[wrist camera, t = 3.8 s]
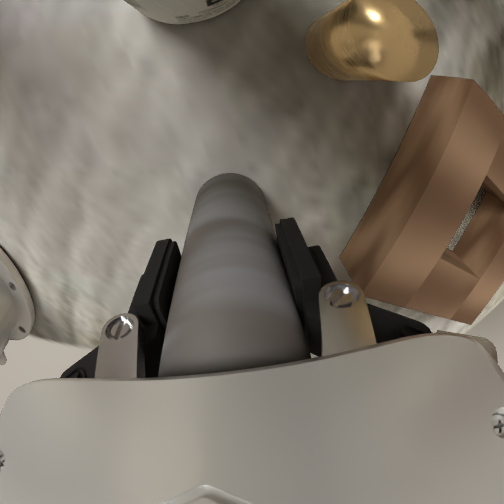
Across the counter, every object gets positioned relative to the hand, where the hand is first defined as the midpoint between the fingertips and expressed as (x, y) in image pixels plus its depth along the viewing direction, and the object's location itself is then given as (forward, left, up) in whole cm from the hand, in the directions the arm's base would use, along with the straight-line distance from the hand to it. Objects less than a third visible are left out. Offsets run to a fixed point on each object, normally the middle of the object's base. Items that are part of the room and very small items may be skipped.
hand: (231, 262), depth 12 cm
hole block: (+6, -15, -6) cm, 17 cm away
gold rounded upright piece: (+11, -2, -6) cm, 13 cm away
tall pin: (0, 0, -6) cm, 6 cm away
